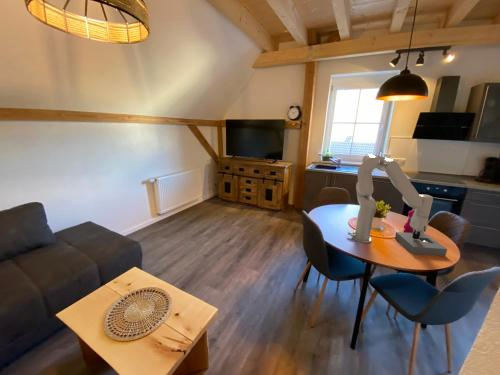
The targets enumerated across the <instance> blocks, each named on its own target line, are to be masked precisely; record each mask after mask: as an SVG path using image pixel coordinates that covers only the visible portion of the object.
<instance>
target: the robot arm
mask: <svg viewBox="0 0 500 375" xmlns="http://www.w3.org/2000/svg"><path fill="white" fill-rule="evenodd" d="M361 162H362V163H361V164H360V165H359V167H358V170H357V182H356V184H355V189H356V198H357V203H358V204H359V210H358V213H357V214H358V215H357V219H356V225H355V230H353V231H352V232H351V231H348V232H347V235H348V236H351V237H352V240H355V241H357V242H359V243H364V244H370V243H371V242H372V238H371V232H372V226H373V220H374V217H375V212H376V210H377V202H376V200H375V199H374V197H372V196H373V193H374V185H373V184H374V183H373V172H374V170H375V169H378V170H382V171H384V172H385V174H386V175H387V177H388V178H389V180H390V182H391V184H392V185H393V186H394V187H395V189H397V190H398V191H399V192H400V194H401V195H402V198H401V199H402V201H403V202H404V203H405V204H406V205H407V206H408V207H410V208H412V209H415V212H414V214H413V216H412V218H411V221H410V226H411V227H412V228H413V232H414V233H413V237H412V238H413V239H419V236H420V234H425V232H426V231H427V229H428V225H429V216H430V213H431V209H432V205H433V201H434V197H433V196H431V195H429V194H420V193H419V192H418V191H417V189H416V188H415V186H414V185H413V184H412V183H411V181H410V180H409V179H408V177H407V175H406V174H405V172H404V171H403V169H402V168H401V166H400V164H399V162H397V160H395V159H393V158H389V157H386V156H380V155H375V154H373V153H372V154H371V153H368V154H366V155H364V156H363V158H362V161H361Z"/></svg>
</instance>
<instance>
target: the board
mask: <svg viewBox="0 0 500 375" xmlns="http://www.w3.org/2000/svg"><path fill="white" fill-rule="evenodd" d="M412 237H413V233H404V232H403V231H402V232H400V231H396V232H395V236H394V239H395V240H396V241H397V242H398V243H399V244H400V245H402V246H403V247H404V248H405V249H406V251H408V252H409V253H411V255H412V254H413V255H421V256H422V255H424V256H425V255H427V256H439V257H440V256H441V257H446V255H447V253H448V248H447V247H445V246H444V245H442V244H441V243H440V242H438V241H437V240H435V239H434V238H432V237H431V236H429V235H428V234H426V233H424V234H420V236H419V239H413V238H412ZM422 241H428V242H429V243H423V242H422Z"/></svg>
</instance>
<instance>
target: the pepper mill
mask: <svg viewBox="0 0 500 375" xmlns="http://www.w3.org/2000/svg"><path fill="white" fill-rule="evenodd" d="M414 212H415V208H412V210H409V211H408V213H407V215H408V216H407V221H406V222H405V223H404V224H403V231H402V232H403V233H414V232H413V228H412V227H411V226H410V221H411V218H412V216H413V214H414Z"/></svg>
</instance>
